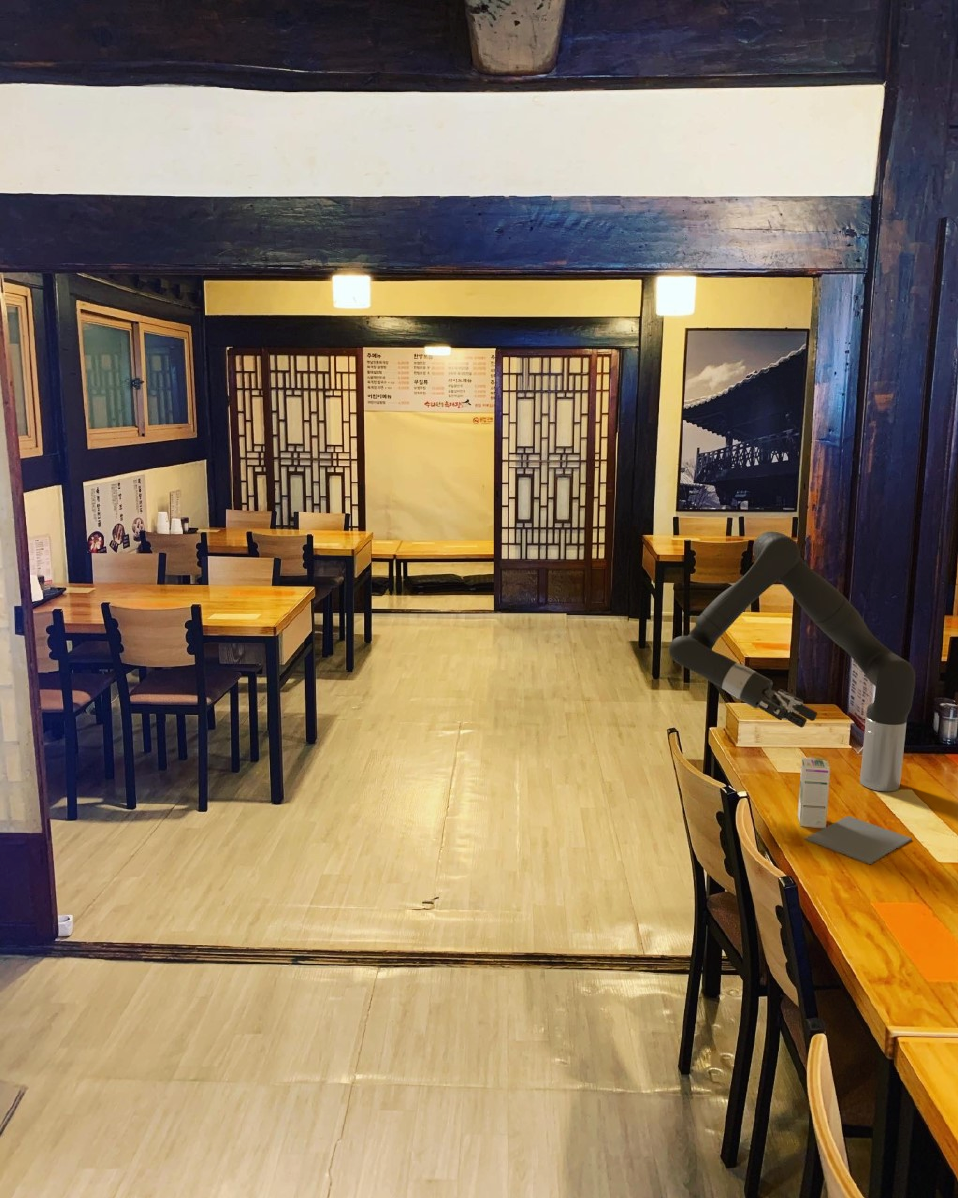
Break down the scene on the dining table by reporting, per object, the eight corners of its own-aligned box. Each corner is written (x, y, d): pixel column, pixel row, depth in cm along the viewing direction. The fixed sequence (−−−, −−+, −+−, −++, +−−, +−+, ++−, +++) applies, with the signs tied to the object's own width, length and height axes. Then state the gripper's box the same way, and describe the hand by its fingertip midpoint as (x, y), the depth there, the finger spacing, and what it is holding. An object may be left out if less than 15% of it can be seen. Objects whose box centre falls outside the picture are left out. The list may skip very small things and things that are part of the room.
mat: (848, 817, 228) (848, 815, 228) (911, 840, 217) (911, 838, 217) (805, 839, 216) (805, 838, 216) (870, 864, 205) (870, 863, 205)
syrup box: (826, 829, 222) (832, 768, 219) (798, 826, 223) (804, 765, 220) (823, 818, 227) (828, 758, 224) (796, 816, 228) (801, 756, 225)
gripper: (743, 675, 225) (808, 711, 217) (763, 667, 237) (826, 701, 229) (729, 703, 227) (793, 740, 219) (750, 694, 239) (811, 728, 231)
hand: (810, 720), depth 224 cm, fingers open, 8 cm apart
